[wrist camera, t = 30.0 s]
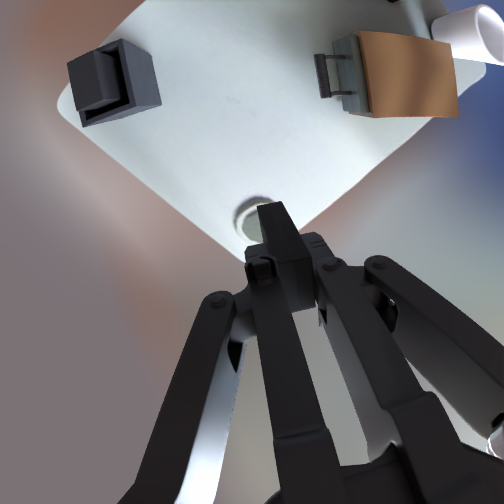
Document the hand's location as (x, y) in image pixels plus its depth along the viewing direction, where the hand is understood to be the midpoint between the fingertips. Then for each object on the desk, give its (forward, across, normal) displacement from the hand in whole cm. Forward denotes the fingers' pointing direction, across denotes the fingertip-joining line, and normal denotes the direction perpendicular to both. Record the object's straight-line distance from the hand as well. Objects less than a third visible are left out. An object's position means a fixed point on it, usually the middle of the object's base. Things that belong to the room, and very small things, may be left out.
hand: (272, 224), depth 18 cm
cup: (+25, +38, +18) cm, 49 cm away
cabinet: (+24, +24, +9) cm, 35 cm away
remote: (+24, -12, +13) cm, 30 cm away
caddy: (+24, -12, +13) cm, 31 cm away
